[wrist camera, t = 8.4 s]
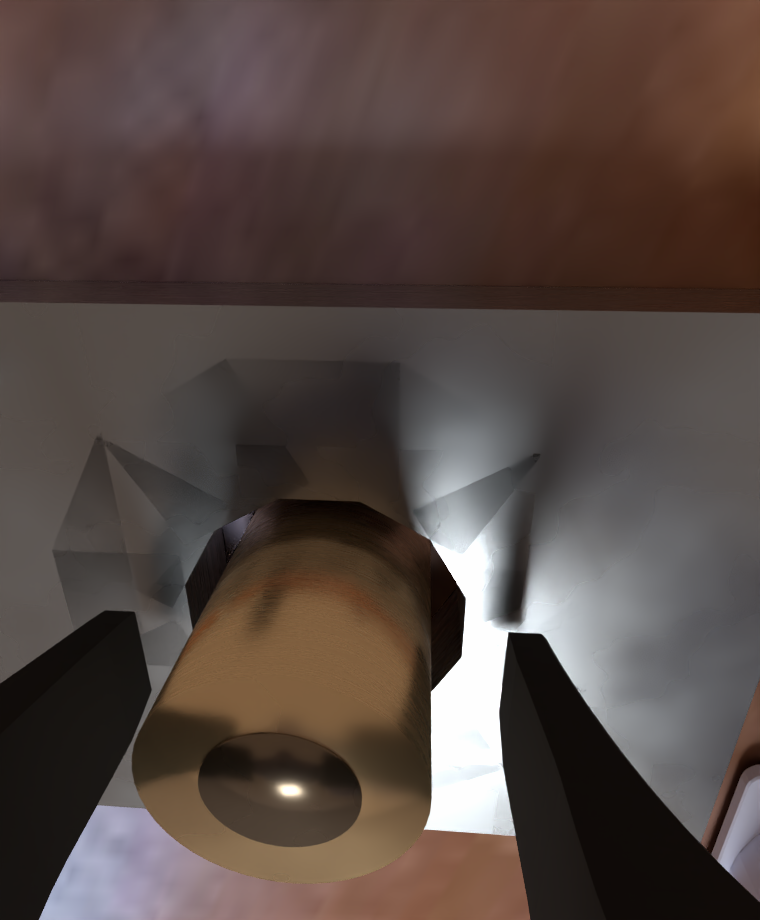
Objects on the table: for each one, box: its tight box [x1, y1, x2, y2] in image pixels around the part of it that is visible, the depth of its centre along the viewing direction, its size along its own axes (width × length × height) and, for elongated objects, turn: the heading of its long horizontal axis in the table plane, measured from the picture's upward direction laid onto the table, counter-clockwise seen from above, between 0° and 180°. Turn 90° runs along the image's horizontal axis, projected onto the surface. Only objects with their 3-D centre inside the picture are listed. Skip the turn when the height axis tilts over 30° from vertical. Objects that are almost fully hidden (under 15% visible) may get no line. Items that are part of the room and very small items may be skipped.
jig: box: [0, 280, 760, 843], centre depth 13 cm, size 18×13×4 cm
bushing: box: [132, 499, 432, 884], centre depth 12 cm, size 4×4×7 cm
